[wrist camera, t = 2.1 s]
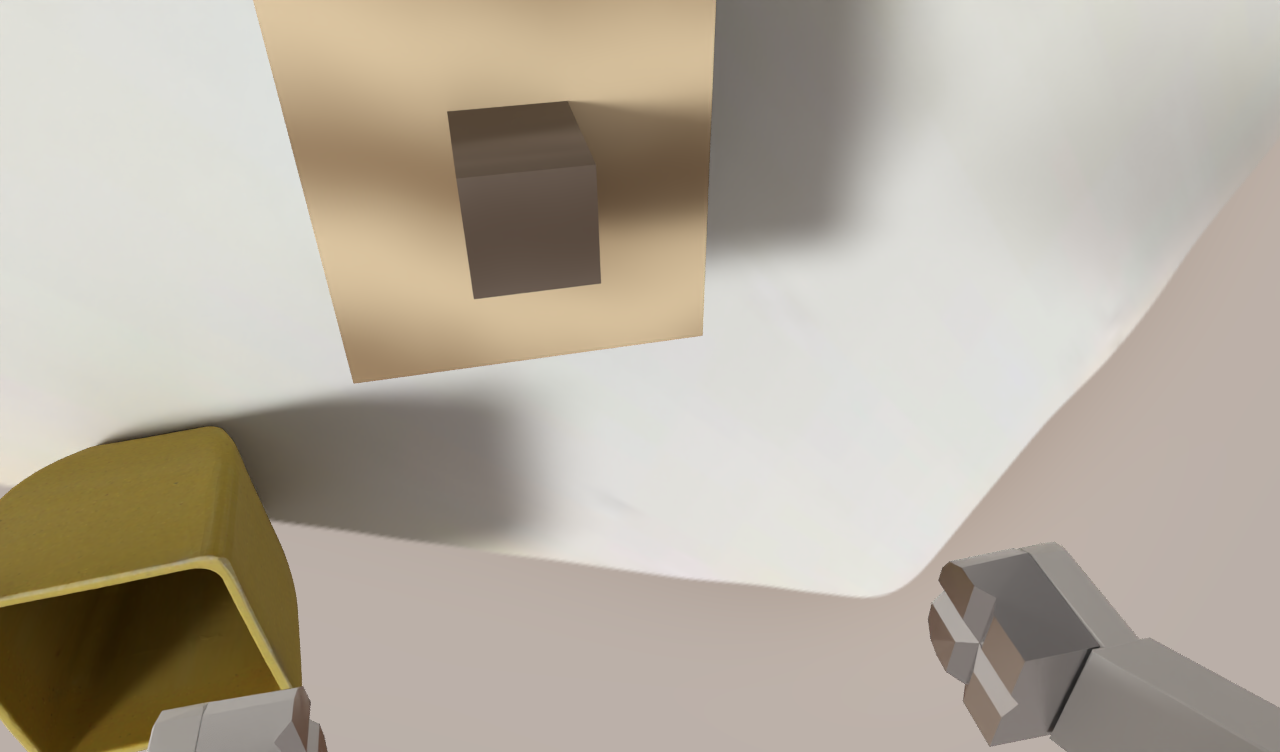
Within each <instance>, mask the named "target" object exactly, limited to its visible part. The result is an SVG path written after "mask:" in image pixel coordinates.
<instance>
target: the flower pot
mask: <svg viewBox="0 0 1280 752" xmlns="http://www.w3.org/2000/svg"><path fill="white" fill-rule="evenodd" d="M300 686H302V673H301V655H300V638H299V622H298V607H297V598H296V592H295V587H294V583H293V579H292V575H291V572H290V569H289V565H288V562H287V559H286V557H285V554H284V551H283V549H282V546H281V544H280V542H279V540H278V538H277V535H276V533H275V531H274V529H273V527H272V525H271V522H270V520H269V518H268V516H267V514H266V512H265V510H264V508H263V505H262V503H261V501H260V499H259V497H258V495H257V492H256V490H255V488H254V486H253V484H252V482H251V479H250V477H249V475H248V473H247V470H246V468H245V466H244V463H243V461H242V458H241V456H240V453H239V451H238V449H237V447H236V445H235V443H234V442H233V440H232V439H231V437H230V436H229V435H228V434H227V433H226V432H225V431H224V430H223V429H222V428H219V427H213V426H208V427H201V428H196V429H190V430H185V431H179V432H174V433H168V434H163V435H157V436H152V437H146V438H140V439H134V440H128V441H122V442H117V443H110V444H105V445H98V446H93V447H89V448H87V449H84V450H82V451H79V452H77V453H75V454H72V455H70V456H67V457H65V458H63V459H60V460H58V461H56V462H54V463H52V464H50V465H48V466H46V467H44V468H43V469H41V470H39V471H37V472H36V473H34V474H32V475H31V476H29V477H28V478H26V479H25V480H23V481H22V482H20V483H19V484H18V485H16V486H15V487H13V488H12V489H11V490H10V491H9V492H8V493H7V494H5V495H4V496H3V497H2V498H1V499H0V720H1V721H2V722H3V724H4V725H5V726H6V727H7V729H8V730H9V731H10V732H11V733H12V734H13V736H14V737H15V738H16V739H17V740H18V741H19V742H20V743H21V745H22V746H23V747H24V748H25V749H26V751H27V752H138V751H142V750H146V749H147V748H148V744H149V740H150V736H151V732H152V728H153V726H154V724H155V722H156V720H157V719H158V717H159V715H160V713H161V712H162V711H164V710H169V709H174V708H180V707H185V706H190V705H196V704H201V703H206V702H214V701H220V700H225V699H231V698H237V697H243V696H249V695H254V694H260V693H266V692H272V691H277V690H283V689H289V688H295V687H300Z"/></svg>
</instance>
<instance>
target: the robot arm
mask: <svg viewBox="0 0 1280 752" xmlns="http://www.w3.org/2000/svg"><path fill="white" fill-rule="evenodd" d="M939 582H940V584H941V586H942V587H943V589H944V591H943V592H942V593H941V594H940V595H939V596H938V597H937V598H936V599H935V600H934V601H933V602H932V604H931V609H930V613H929V617H928V623H929V631H930V639H931V642H932V644H933V647H934V649H935V652H936V655H937V657H938V658H939V660H940V662H941V664H942V666H943V667H944V669H945V671H946V672H947V673H949V674H950V675H952V676H953V677H955V678H957V679H958V680H959V681H961V682H963V683H964V684H965V689H964V697H963V702H964V704H965V706H966V707H967V709H968V711H969V712H970V714H971V716H972V717H973V719H974V721H975V723H976V724H977V726H978V728H979V730H980V731H981V733H982V735H983V736H984V738H985V740H986V742H987V743H988V745H989V746H990V747H991V746H996V745H1001V744H1005V743H1011V742H1016V741H1021V740H1026V739H1031V738H1036V737H1040V736H1046V735H1051V736H1050V739H1051V740H1052V741H1054V742H1055V743H1056V744H1058V745H1059V746H1060V747H1061V748H1063V749H1064V750H1065V751H1067V752H1280V708H1279V707H1277V706H1275V705H1274V704H1272V703H1270V702H1268V701H1266V700H1264V699H1262V698H1261V697H1259V696H1257V695H1255V694H1253V693H1251V692H1249V691H1247V690H1246V689H1244V688H1242V687H1240V686H1238V685H1236V684H1235V683H1233V682H1231V681H1229V680H1227V679H1225V678H1224V677H1222V676H1220V675H1218V674H1216V673H1214V672H1213V671H1211V670H1209V669H1207V668H1205V667H1203V666H1201V665H1200V664H1198V663H1196V662H1194V661H1192V660H1190V659H1189V658H1187V657H1185V656H1183V655H1181V654H1179V653H1177V652H1176V651H1174V650H1172V649H1170V648H1168V647H1166V646H1165V645H1162V644H1161V643H1159V642H1157V641H1155V640H1153V639H1151V638H1144V639H1139V638H1138V637H1137V636H1136V634H1135V633H1134V632H1133V631H1132V629H1131V628H1130V627H1129V626H1128V625H1127V624H1126V622H1125V621H1124V620H1123V619H1122V617H1121V616H1120V615H1119V614H1118V612H1117V611H1116V610H1115V609H1114V608H1113V606H1112V605H1111V604H1110V603H1109V601H1108V600H1107V599H1106V598H1105V597H1104V595H1103V594H1102V593H1101V592H1100V590H1098V588H1097V587H1096V586H1095V584H1094V583H1093V582H1092V581H1091V579H1090V578H1089V577H1088V576H1087V575H1086V573H1085V572H1084V571H1083V570H1082V569H1081V567H1080V566H1079V565H1078V564H1077V562H1075V560H1074V559H1073V558H1072V556H1071V555H1070V554H1069V553H1068V552H1067V550H1066V549H1065V548H1064V547H1062V546H1060V545H1059V544H1057V543H1056V542H1048V543H1042V544H1038V545H1033V546H1028V547H1024V548H1019V549H1015V548H1012V549H1008V550H1002V551H998V552H993V553H988V554H984V555H978V556H974V557H969V558H964V559H959V560H954V561H950V562H948V563H947V564H946V565H945V566H944V567H943V568H942V570H941V574H940V577H939ZM310 705H311V702H310V700H309V698H308V695H307V693H306V691H305V689H304V687H303V686H300V687H295V688H289V689H283V690H277V691H272V692H266V693H260V694H254V695H249V696H243V697H237V698H231V699H225V700H220V701H214V702H206V703H201V704H196V705H190V706H185V707H180V708H174V709H169V710H164V711H162V712H161V713H160V715H159V717H158V719H157V720H156V722H155V724H154V726H153V728H152V732H151V736H150V740H149V744H148V748H147V752H328V751H327V746H326V742H325V737H324V734H323V732H322V729H321V726H320V724H319V723H316V722H314V721H312V720H310V719H309V718H310V717H309V716H310Z"/></svg>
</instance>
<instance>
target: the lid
mask: <svg viewBox="0 0 1280 752" xmlns="http://www.w3.org/2000/svg"><path fill="white" fill-rule="evenodd" d="M253 1H254V5H255V9H256V13H257V17H258V20H259V24H260V28H261V32H262V36H263V40H264V43H265V47H266V51H267V55H268V59H269V62H270V66H271V70H272V74H273V78H274V82H275V85H276V89H277V93H278V97H279V101H280V104H281V108H282V112H283V116H284V120H285V123H286V127H287V131H288V135H289V139H290V143H291V146H292V150H293V154H294V158H295V162H296V165H297V169H298V173H299V177H300V181H301V185H302V188H303V192H304V196H305V200H306V204H307V207H308V211H309V215H310V219H311V223H312V226H313V230H314V234H315V238H316V242H317V246H318V249H319V253H320V257H321V261H322V265H323V268H324V272H325V276H326V280H327V284H328V288H329V291H330V295H331V299H332V303H333V307H334V310H335V314H336V318H337V322H338V326H339V329H340V333H341V337H342V341H343V345H344V349H345V352H346V356H347V360H348V364H349V368H350V371H351V375H352V379H353V383H362V382H369V381H376V380H383V379H391V378H398V377H405V376H413V375H420V374H427V373H434V372H442V371H449V370H456V369H463V368H471V367H478V366H485V365H492V364H500V363H507V362H514V361H522V360H529V359H536V358H543V357H551V356H558V355H565V354H572V353H580V352H587V351H594V350H602V349H609V348H616V347H623V346H631V345H638V344H645V343H652V342H660V341H667V340H674V339H681V338H689V337H696V336H702V335H703V310H704V285H705V261H706V236H707V211H708V186H709V162H710V137H711V112H712V87H713V62H714V38H715V13H716V0H253Z"/></svg>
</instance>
